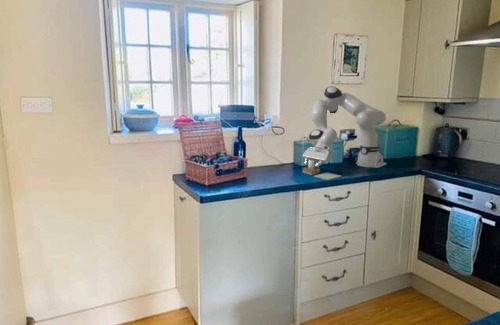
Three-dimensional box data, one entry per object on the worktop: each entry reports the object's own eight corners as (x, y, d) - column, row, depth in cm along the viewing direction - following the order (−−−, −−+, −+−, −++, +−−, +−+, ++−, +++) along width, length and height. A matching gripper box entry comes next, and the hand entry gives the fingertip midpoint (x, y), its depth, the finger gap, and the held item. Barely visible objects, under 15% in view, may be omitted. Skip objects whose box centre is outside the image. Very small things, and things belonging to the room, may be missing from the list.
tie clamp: (308, 170, 246) (308, 166, 245) (319, 173, 239) (319, 168, 238) (300, 172, 241) (301, 167, 240) (311, 174, 234) (311, 170, 234)
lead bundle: (310, 171, 242) (311, 158, 240) (315, 173, 239) (316, 159, 237) (306, 172, 240) (307, 159, 238) (311, 173, 237) (312, 160, 235)
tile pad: (327, 173, 238) (327, 172, 238) (341, 176, 230) (341, 175, 230) (313, 176, 230) (313, 175, 230) (328, 180, 222) (328, 179, 222)
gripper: (307, 143, 248) (296, 159, 244) (331, 147, 233) (320, 165, 229) (311, 149, 252) (301, 165, 248) (335, 154, 237) (325, 171, 232)
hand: (310, 165), depth 238 cm, fingers open, 8 cm apart
